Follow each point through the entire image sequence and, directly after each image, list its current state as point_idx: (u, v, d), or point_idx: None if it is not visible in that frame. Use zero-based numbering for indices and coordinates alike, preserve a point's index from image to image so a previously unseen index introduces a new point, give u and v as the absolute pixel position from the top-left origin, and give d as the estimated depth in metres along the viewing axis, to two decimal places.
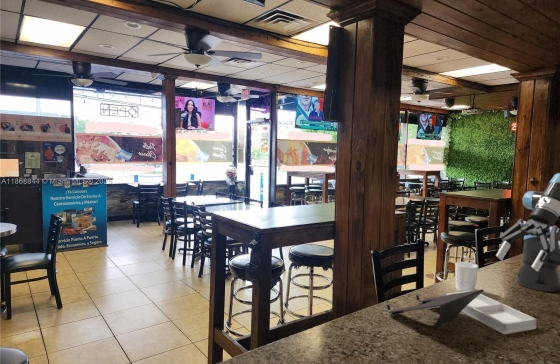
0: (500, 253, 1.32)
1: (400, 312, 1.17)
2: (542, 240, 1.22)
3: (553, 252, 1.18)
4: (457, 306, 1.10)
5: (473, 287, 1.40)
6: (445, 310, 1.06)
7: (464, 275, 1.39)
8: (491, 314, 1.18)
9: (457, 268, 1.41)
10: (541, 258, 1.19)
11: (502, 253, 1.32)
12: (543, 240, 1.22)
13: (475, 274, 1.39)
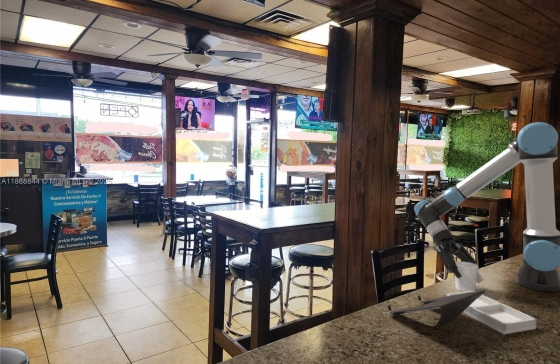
0: None
1: (401, 313, 1.17)
2: None
3: (449, 269, 1.40)
4: (458, 307, 1.09)
5: (473, 287, 1.40)
6: (446, 311, 1.05)
7: (464, 275, 1.39)
8: (491, 314, 1.18)
9: None
10: None
11: (477, 277, 1.42)
12: None
13: (475, 274, 1.39)
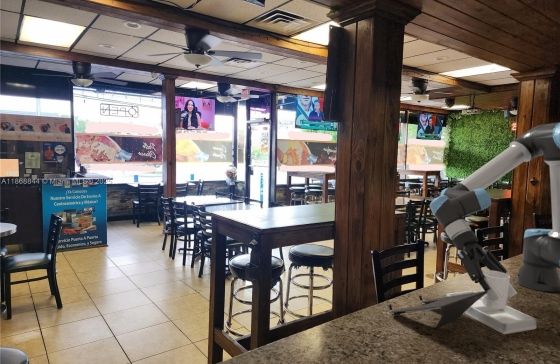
0: None
1: (402, 312, 1.16)
2: None
3: (475, 279, 1.14)
4: (459, 307, 1.08)
5: (504, 302, 1.13)
6: (447, 311, 1.05)
7: None
8: (491, 314, 1.18)
9: (484, 278, 1.15)
10: None
11: None
12: None
13: (507, 286, 1.13)
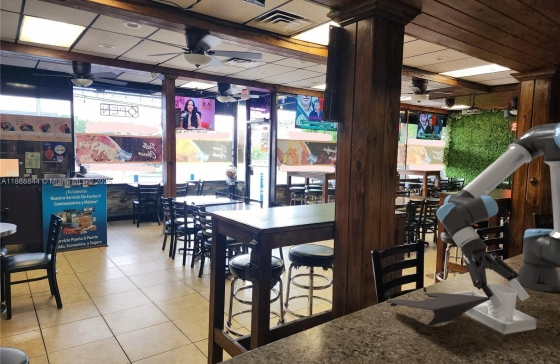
0: (519, 296, 1.16)
1: None
2: None
3: (478, 285, 1.12)
4: (455, 310, 1.08)
5: (511, 317, 1.11)
6: (440, 313, 1.05)
7: None
8: None
9: None
10: None
11: (520, 293, 1.16)
12: None
13: (514, 301, 1.10)
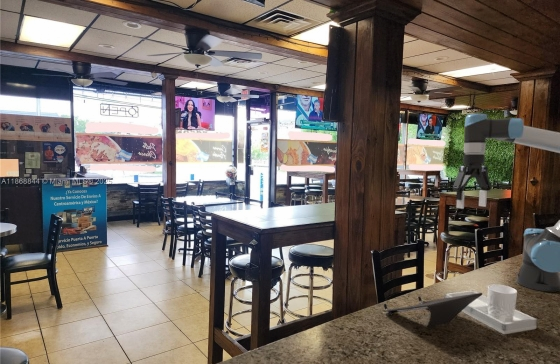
0: (480, 202, 1.49)
1: (395, 311, 1.17)
2: None
3: (455, 190, 1.41)
4: (451, 308, 1.08)
5: (511, 317, 1.11)
6: (435, 311, 1.05)
7: (500, 303, 1.11)
8: None
9: (491, 293, 1.13)
10: None
11: (481, 201, 1.48)
12: None
13: (514, 301, 1.10)
